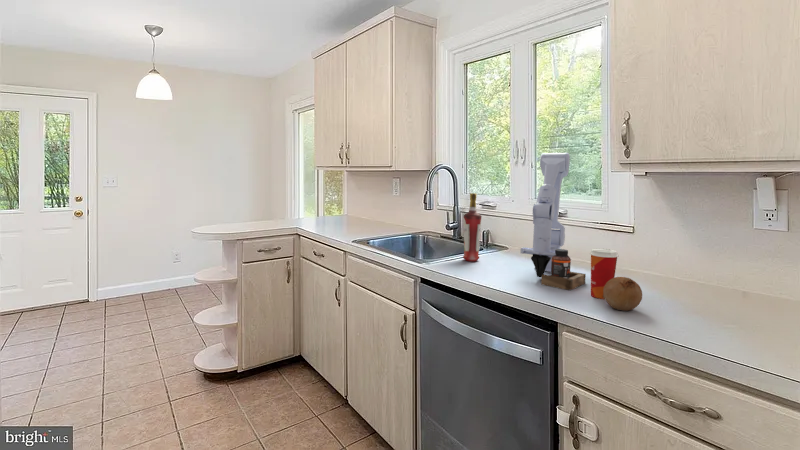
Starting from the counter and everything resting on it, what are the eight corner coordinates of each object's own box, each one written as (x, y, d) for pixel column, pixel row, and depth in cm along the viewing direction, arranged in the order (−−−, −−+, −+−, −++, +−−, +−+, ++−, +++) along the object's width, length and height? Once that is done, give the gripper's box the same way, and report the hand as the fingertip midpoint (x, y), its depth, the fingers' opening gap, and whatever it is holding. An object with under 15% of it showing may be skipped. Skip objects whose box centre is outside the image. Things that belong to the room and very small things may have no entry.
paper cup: (592, 291, 132) (595, 247, 130) (619, 296, 127) (622, 250, 125) (582, 296, 127) (585, 250, 125) (609, 302, 121) (613, 254, 119)
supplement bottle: (570, 286, 138) (572, 251, 136) (551, 284, 139) (553, 251, 138) (568, 281, 143) (569, 248, 142) (549, 280, 145) (551, 248, 144)
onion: (631, 324, 112) (645, 296, 106) (595, 308, 116) (606, 281, 111) (637, 303, 119) (650, 276, 113) (602, 289, 123) (613, 263, 117)
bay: (557, 278, 148) (557, 269, 148) (585, 283, 142) (585, 274, 141) (541, 284, 139) (541, 275, 139) (570, 290, 133) (570, 280, 132)
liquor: (461, 258, 180) (463, 192, 177) (478, 258, 180) (480, 193, 177) (463, 262, 173) (465, 193, 169) (481, 262, 173) (483, 194, 169)
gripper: (516, 236, 146) (515, 274, 148) (557, 241, 137) (555, 282, 138) (526, 234, 152) (524, 271, 153) (566, 239, 142) (564, 278, 143)
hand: (540, 276), depth 146 cm, fingers closed
